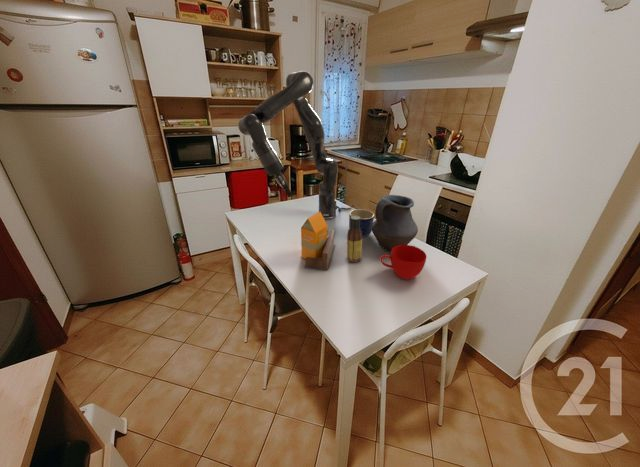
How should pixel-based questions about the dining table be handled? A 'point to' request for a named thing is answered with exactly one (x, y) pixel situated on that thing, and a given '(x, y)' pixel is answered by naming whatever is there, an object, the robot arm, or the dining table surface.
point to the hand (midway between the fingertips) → (290, 196)
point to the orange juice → (314, 236)
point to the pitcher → (394, 222)
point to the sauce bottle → (354, 240)
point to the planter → (363, 220)
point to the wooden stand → (327, 252)
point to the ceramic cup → (406, 261)
